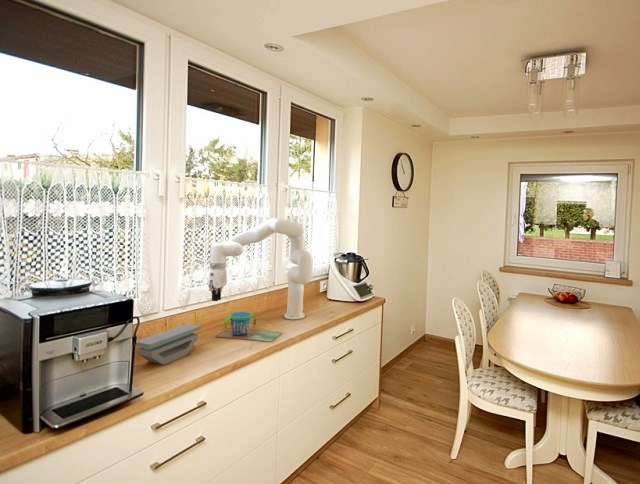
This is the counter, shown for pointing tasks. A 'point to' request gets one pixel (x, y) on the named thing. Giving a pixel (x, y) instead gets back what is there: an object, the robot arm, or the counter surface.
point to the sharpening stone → (168, 344)
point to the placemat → (251, 335)
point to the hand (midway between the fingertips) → (216, 300)
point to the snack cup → (240, 322)
